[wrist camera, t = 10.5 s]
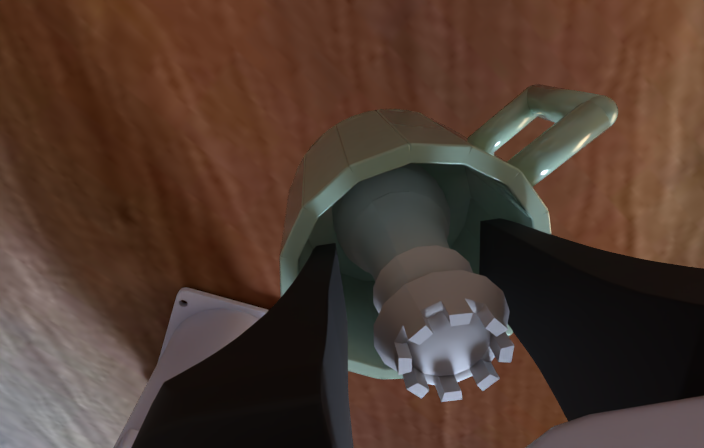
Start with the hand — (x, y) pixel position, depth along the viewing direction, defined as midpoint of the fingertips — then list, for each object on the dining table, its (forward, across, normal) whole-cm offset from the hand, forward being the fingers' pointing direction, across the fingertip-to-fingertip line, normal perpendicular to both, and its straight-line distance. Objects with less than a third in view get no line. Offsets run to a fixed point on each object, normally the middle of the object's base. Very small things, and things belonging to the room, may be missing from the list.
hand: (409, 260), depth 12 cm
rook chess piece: (+4, 0, 0) cm, 4 cm away
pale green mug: (+4, -1, -1) cm, 4 cm away
